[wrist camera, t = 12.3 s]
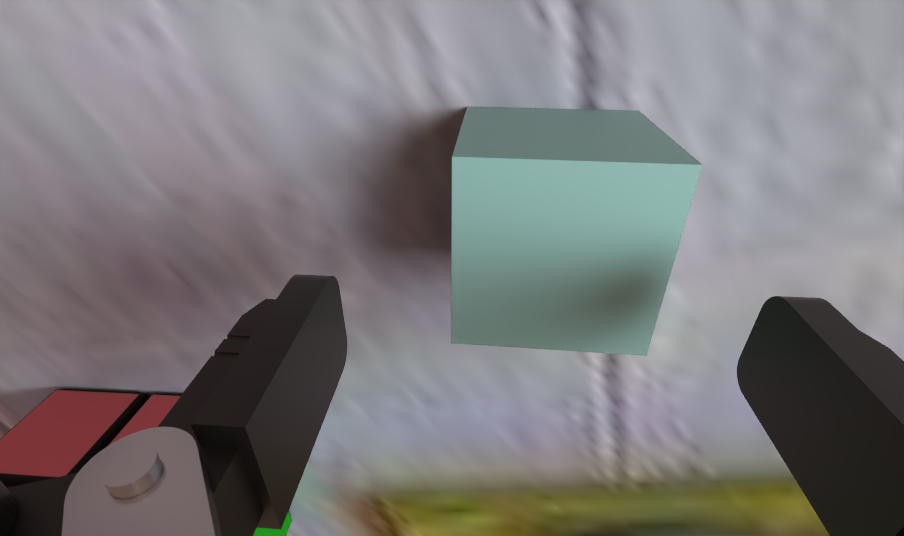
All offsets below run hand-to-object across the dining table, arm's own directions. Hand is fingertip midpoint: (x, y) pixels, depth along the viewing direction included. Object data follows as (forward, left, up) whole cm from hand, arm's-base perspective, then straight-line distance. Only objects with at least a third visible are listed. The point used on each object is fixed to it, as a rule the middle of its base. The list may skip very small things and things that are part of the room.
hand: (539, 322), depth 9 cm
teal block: (-1, 0, -7) cm, 7 cm away
